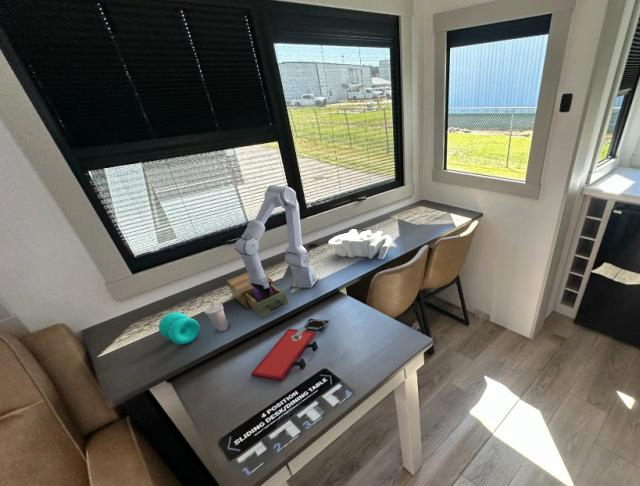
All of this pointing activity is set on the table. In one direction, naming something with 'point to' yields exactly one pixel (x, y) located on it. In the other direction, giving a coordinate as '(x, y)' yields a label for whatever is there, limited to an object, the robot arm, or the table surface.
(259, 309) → the drawer
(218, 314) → the smoothie
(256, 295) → the purple box
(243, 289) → the cabinet
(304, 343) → the red board with handle
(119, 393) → the table surface
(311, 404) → the table surface
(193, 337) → the turquoise spool
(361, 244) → the wavy white extrusion
